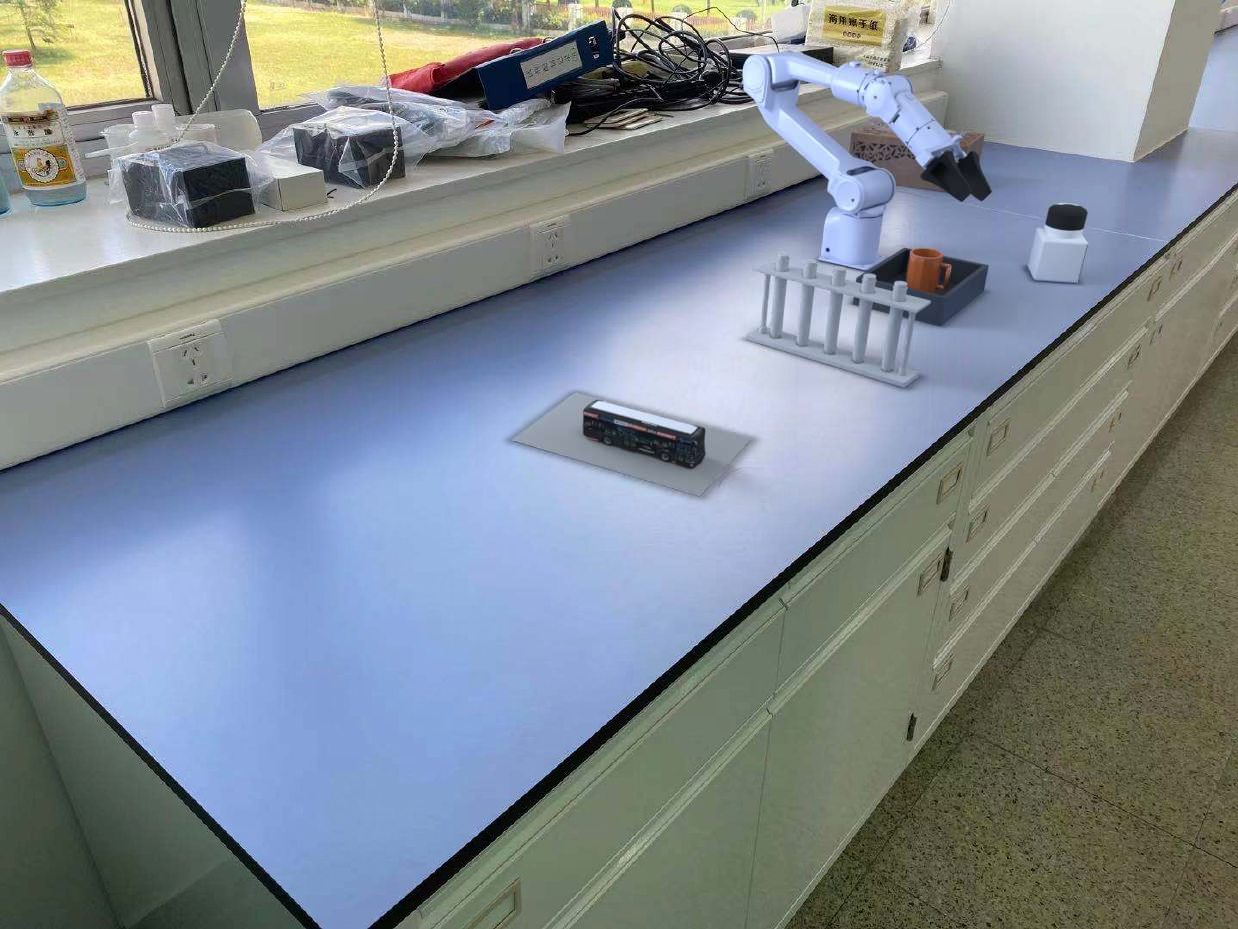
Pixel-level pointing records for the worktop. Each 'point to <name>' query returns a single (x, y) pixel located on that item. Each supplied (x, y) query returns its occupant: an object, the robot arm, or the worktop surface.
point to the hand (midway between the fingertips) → (976, 196)
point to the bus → (635, 442)
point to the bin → (945, 304)
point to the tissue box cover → (901, 152)
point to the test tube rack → (838, 319)
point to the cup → (926, 270)
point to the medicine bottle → (1059, 245)
